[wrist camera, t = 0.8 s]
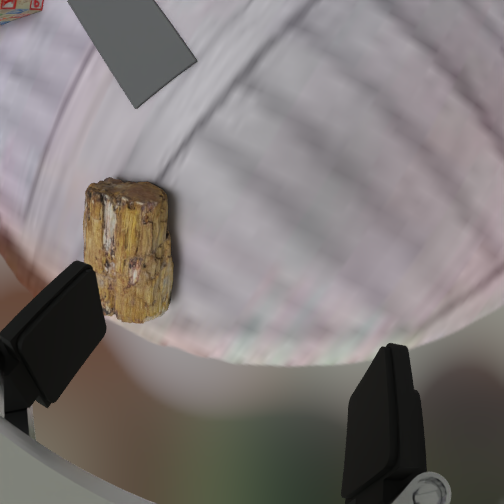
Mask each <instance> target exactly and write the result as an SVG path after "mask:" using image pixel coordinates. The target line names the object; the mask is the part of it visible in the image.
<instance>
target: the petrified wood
mask: <svg viewBox="0 0 504 504" xmlns="http://www.w3.org/2000/svg"><path fill="white" fill-rule="evenodd" d="M85 195H86V199H85V212H84V220H83V232H84V263H87V264H89V265H91V266H92V267H93V270H94V271H95V272H96V277H97V283H98V288H99V294H100V299H101V304H102V309H103V314H104V315H105V316H106V315H107V316H112V315H114V314H116V317H117V319H119V320H122V322H128V323H132V322H133V323H144V322H147V321H149V320H153V319H155V318H157V317H160V316H162V315H163V314H164V313H165V312H166V311H167V310H168V306H169V304H170V300H171V291H172V283H173V267H174V264H173V262H172V257H171V238H170V233H169V231H168V230H167V218H168V202H167V194H166V193H165V192H164V191H163V190H162V189H160V188H159V187H158V186H155V185H153V184H151V183H149V182H138V183H135V182H131V181H128V182H125V183H123V182H122V181H121V180H119V179H113V178H111V177H109V178H106V179H105V180H104V181H99V182H98V184H97V183H91V184H90V185H89V187H88V188H87V190H86V192H85Z"/></svg>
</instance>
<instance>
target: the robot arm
mask: <svg viewBox="0 0 504 504" xmlns="http://www.w3.org/2000/svg"><path fill="white" fill-rule="evenodd" d="M105 333H106V323H105V318H104V314H103V309H102V304H101V299H100V294H99V288H98V283H97V277H96V272H95V271H94V270H93V267H92V266H91V265H89V264H87V263H84V262H81V261H74V262H73V263H72V264H71V265H69V266H68V267H67V268H66V269H65V270H64V271H63V272H62V273H60V274H59V275H58V276H57V277H56V278H55V279H54V280H53V281H52V282H51V283H50V284H49V285H47V286H46V287H45V288H44V289H43V290H42V291H41V292H40V293H39V294H38V295H37V296H36V297H35V298H34V299H33V300H32V301H31V302H30V303H29V304H28V305H27V306H26V307H24V308H23V310H21V311H20V312H19V313H18V315H17V316H15V317H14V319H13V320H12V321H11V322H10V323H9V324H8V325H7V326H6V327H5V328H4V329H3V330H2V331H1V332H0V504H156V503H154V502H151V501H149V500H146V499H143V498H141V497H139V496H137V495H134V494H132V493H129V492H127V491H125V490H123V489H120V488H118V487H116V486H114V485H112V484H110V483H108V482H106V481H104V480H102V479H100V478H98V477H96V476H94V475H92V474H90V473H88V472H87V471H85V470H83V469H81V468H79V467H78V466H76V465H74V464H72V463H71V462H69V461H67V460H65V459H64V458H62V457H60V456H59V455H57V454H56V453H54V452H52V451H51V450H49V449H48V448H46V447H44V446H43V445H41V444H40V443H38V442H37V441H36V439H35V432H34V421H33V410H32V404H33V403H34V401H35V400H36V401H37V402H38V403H40V404H42V405H43V406H45V407H46V408H48V407H49V406H50V404H51V403H54V402H56V401H57V400H58V398H59V397H60V395H61V394H62V393H63V391H64V390H65V388H66V387H67V385H68V384H69V383H70V381H71V380H72V379H73V377H74V376H75V374H76V373H77V372H78V370H79V369H80V368H81V366H82V365H83V364H84V362H85V361H86V359H87V358H88V357H89V355H90V354H91V353H92V351H93V350H94V349H95V347H96V346H97V345H98V344H99V342H100V341H101V340H102V338H103V337H104V335H105ZM341 496H342V498H346V500H345V504H449V503H450V500H451V489H450V486H449V484H448V482H447V481H446V480H445V478H444V477H443V476H441V475H439V474H438V473H434V472H427V468H426V451H425V438H424V427H423V417H422V408H421V400H420V395H419V393H418V391H417V390H414V386H413V379H412V372H411V365H410V358H409V352H408V348H407V347H406V346H403V345H398V344H393V343H389V344H387V346H386V347H381V348H380V349H379V351H378V353H377V355H376V356H375V358H374V360H373V361H372V363H371V365H370V367H369V368H368V370H367V372H366V373H365V375H364V377H363V378H362V380H361V381H360V383H359V384H358V386H357V388H356V389H355V391H354V392H353V394H352V396H351V398H350V401H349V406H348V423H347V437H346V451H345V462H344V472H343V481H342V490H341Z"/></svg>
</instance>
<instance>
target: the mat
mask: <svg viewBox="0 0 504 504" xmlns="http://www.w3.org/2000/svg"><path fill="white" fill-rule="evenodd" d="M67 2H68V3H69V5H70V6H71V8H72V10H73V11H74V13H75V15H76V16H77V18H78V19H79V21H80V23H81V24H82V26H83V28H84V29H85V31H86V32H87V34H88V36H89V37H90V39H91V40H92V42H93V44H94V45H95V47H96V48H97V50H98V52H99V53H100V55H101V56H102V58H103V59H104V61H105V63H106V64H107V66H108V67H109V69H110V71H111V72H112V74H113V75H114V77H115V78H116V80H117V82H118V83H119V85H120V86H121V88H122V89H123V91H124V92H125V94H126V96H127V97H128V99H129V100H130V102H131V103H132V105H133V106H134V108H135V109H137V108H138V107H139V106H140V105H142V104H143V103H144V102H145V101H146V100H148V99H149V98H150V97H151V96H152V95H154V94H155V93H156V92H157V91H159V90H160V89H161V88H162V87H164V86H165V85H166V84H167V83H169V82H170V81H171V80H172V79H174V78H175V77H176V76H178V75H179V74H180V73H182V72H183V71H184V70H186V69H187V68H188V67H190V66H191V65H193V64H194V63H195V62H197V60H196V58H195V57H194V55H193V54H192V52H191V51H190V49H189V48H188V47H187V45H186V44H185V42H184V41H183V40H182V38H181V37H180V35H179V34H178V32H177V31H176V30H175V28H174V27H173V25H172V24H171V23H170V21H169V20H168V19H167V17H166V16H165V14H164V13H163V12H162V10H161V9H160V8H159V6H158V5H157V4H156V2H155V1H154V0H68V1H67Z"/></svg>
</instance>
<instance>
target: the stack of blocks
mask: <svg viewBox="0 0 504 504" xmlns="http://www.w3.org/2000/svg"><path fill="white" fill-rule="evenodd" d="M43 2H44V0H0V26H1V25H3V24H5V23H8V22H10V21H12V20H15V19H18V18H21V17H24V16H27V15H30V14H33V13H36V12H39V11H42V8H43Z"/></svg>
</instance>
